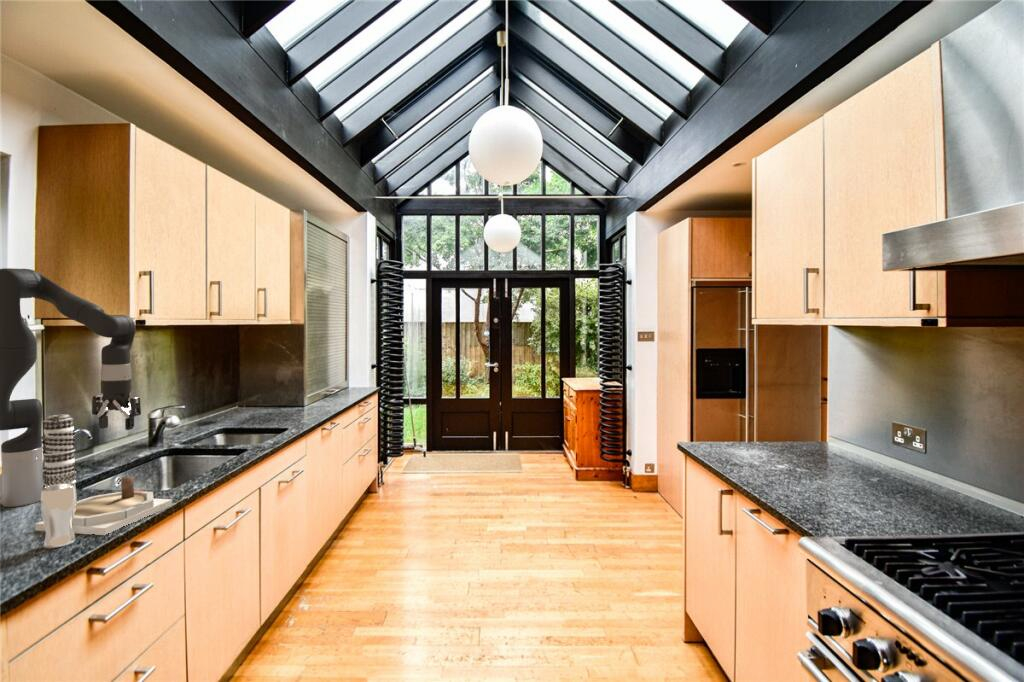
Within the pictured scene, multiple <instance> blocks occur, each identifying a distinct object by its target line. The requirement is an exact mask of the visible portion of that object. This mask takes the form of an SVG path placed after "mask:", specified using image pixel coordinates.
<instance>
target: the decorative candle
mask: <svg viewBox="0 0 1024 682" xmlns="http://www.w3.org/2000/svg"><path fill="white" fill-rule="evenodd" d="M42 423H44V429H43V434H42V455H44V458H45V459H44V460H45V461H44V466H43V487H44V486H45V487H47V486H51V485H55V484H61V483H75V484H76V483H77V480H76V479H77V476H76V475H77V472H76V471H75V470H76V469H77V467H76V465H77V463H76V462H75V461H76V460H75V459H76V458H75V453H74V452H75V451H76V449H77V448H76V447H74V446H75V445H76V444H77V442H76V440H77V438H76V437H74V436H75V435H77V432H75V431H77V428H75V426H74V417H71V415H70V414H67V413H66V414H65V413H64V414H61V413H60V414H53V415H52V414H51V415H49V416H47V417H46V418H45V420H42Z"/></svg>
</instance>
